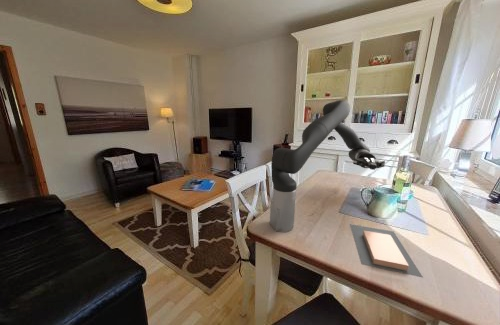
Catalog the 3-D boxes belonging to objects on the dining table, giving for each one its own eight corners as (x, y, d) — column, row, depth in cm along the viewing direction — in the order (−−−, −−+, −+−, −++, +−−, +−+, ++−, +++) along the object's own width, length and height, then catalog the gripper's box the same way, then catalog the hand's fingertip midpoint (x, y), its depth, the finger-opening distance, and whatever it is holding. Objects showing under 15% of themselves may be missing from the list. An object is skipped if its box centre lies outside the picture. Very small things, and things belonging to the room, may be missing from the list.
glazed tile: (363, 230, 76) (374, 258, 61) (390, 234, 73) (408, 265, 59) (362, 235, 77) (373, 264, 62) (389, 239, 74) (407, 271, 59)
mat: (349, 225, 84) (349, 224, 84) (393, 232, 79) (393, 231, 79) (361, 265, 62) (361, 264, 62) (422, 279, 57) (423, 277, 57)
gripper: (350, 150, 97) (356, 156, 81) (381, 152, 93) (394, 159, 77) (348, 164, 99) (354, 174, 83) (379, 167, 95) (390, 177, 79)
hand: (373, 167), depth 80 cm, fingers closed
